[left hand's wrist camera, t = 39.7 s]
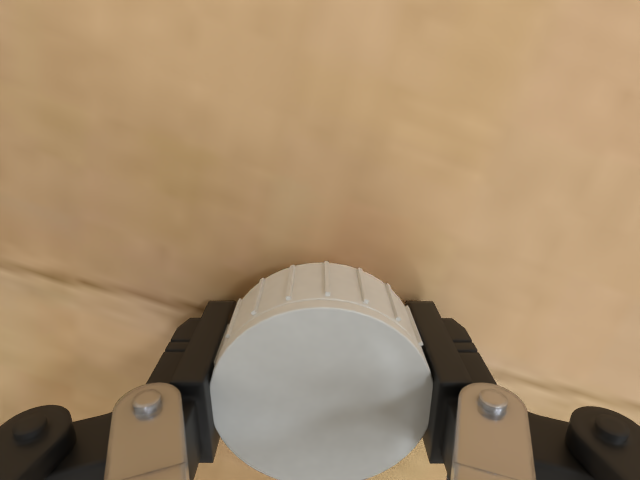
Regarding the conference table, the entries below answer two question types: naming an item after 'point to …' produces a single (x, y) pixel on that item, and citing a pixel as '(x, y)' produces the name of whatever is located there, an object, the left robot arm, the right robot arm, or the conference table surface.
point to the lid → (321, 376)
